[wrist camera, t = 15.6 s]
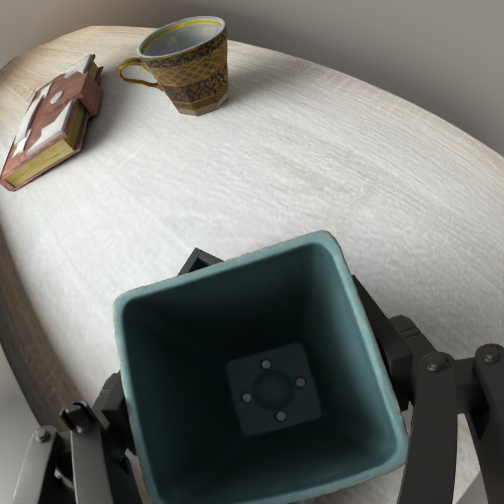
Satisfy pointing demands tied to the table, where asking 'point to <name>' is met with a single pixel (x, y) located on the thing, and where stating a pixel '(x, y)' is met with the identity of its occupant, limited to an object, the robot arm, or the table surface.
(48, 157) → the book
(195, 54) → the ceramic cup
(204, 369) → the flower pot
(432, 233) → the table surface
